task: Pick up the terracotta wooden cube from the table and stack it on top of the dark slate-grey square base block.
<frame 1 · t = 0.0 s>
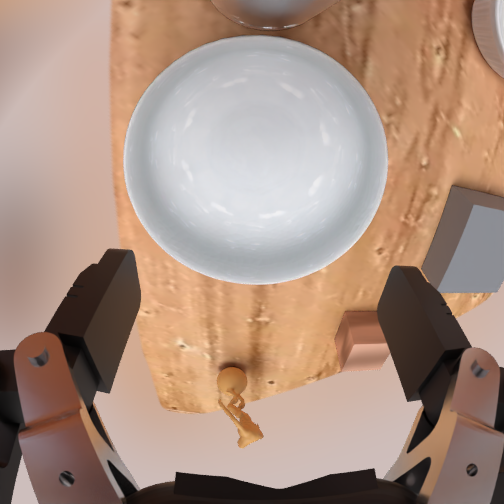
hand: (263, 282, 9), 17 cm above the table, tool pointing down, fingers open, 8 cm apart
cereal bowl: (254, 145, 24), on the table
ramekin: (501, 33, 16), on the table
figurine: (239, 366, 41), on the table
slate base: (470, 233, 28), on the table
terracotta cube: (358, 325, 36), on the table
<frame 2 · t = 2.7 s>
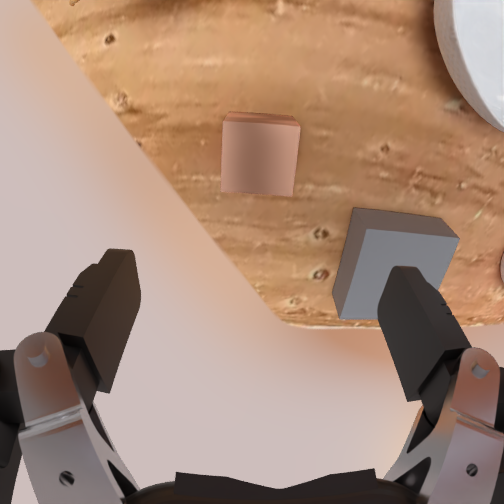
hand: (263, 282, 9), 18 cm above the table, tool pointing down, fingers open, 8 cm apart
cereal bowl: (482, 42, 18), on the table
slate base: (387, 256, 30), on the table
terracotta cube: (258, 142, 25), on the table
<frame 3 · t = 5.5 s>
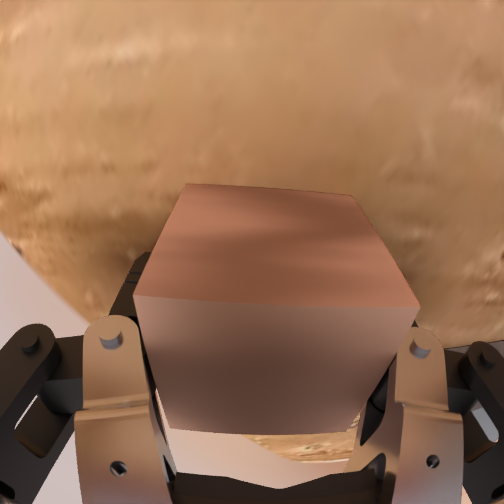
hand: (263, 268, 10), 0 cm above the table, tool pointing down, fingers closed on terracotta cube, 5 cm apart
slate base: (454, 392, 16), on the table
terracotta cube: (263, 259, 11), on the table, touching gripper
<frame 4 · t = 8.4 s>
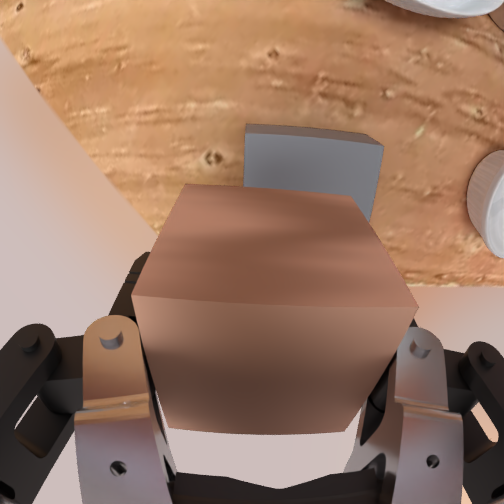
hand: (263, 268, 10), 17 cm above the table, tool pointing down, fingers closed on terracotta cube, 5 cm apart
ramekin: (493, 188, 26), on the table
slate base: (302, 184, 26), on the table
terracotta cube: (262, 259, 11), point 17 cm above the table, touching gripper
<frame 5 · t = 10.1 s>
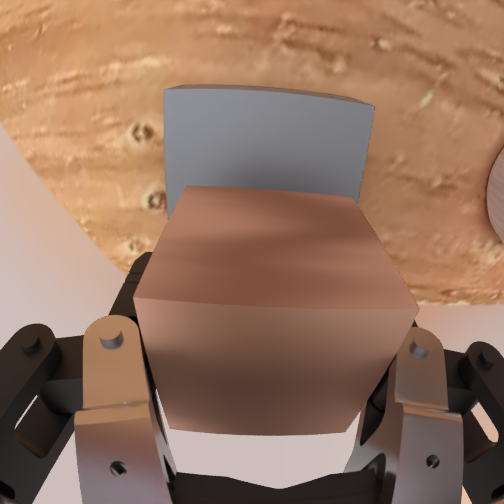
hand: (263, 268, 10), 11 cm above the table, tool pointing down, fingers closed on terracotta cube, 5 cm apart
slate base: (262, 166, 19), on the table
terracotta cube: (263, 260, 11), point 10 cm above the table, touching gripper
when the fingers open (6 cm above the table, at t = 11.4 s): terracotta cube drops 1 cm, resting on slate base.
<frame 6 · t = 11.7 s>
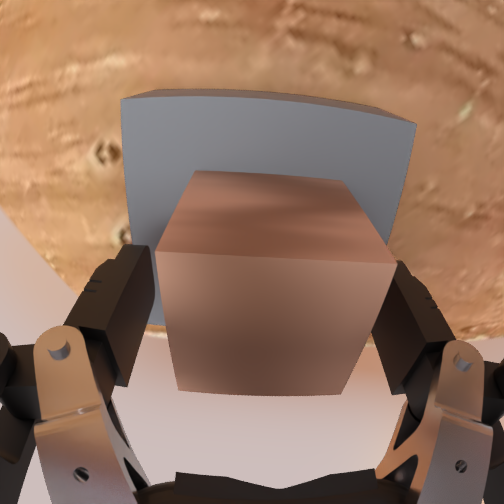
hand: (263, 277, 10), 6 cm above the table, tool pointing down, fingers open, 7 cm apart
slate base: (259, 196, 15), on the table
terracotta cube: (263, 238, 12), point 4 cm above the table, touching slate base
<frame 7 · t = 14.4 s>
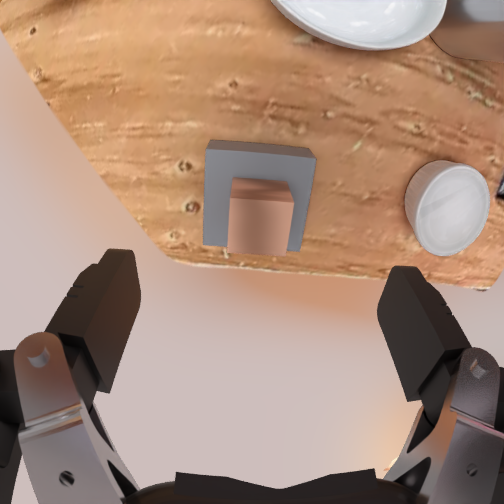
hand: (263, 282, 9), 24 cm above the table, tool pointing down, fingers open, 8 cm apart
ramekin: (433, 194, 34), on the table
slate base: (255, 188, 33), on the table
terracotta cube: (257, 203, 30), point 4 cm above the table, touching slate base
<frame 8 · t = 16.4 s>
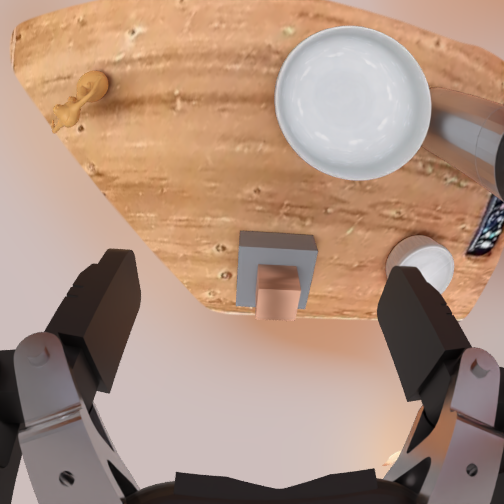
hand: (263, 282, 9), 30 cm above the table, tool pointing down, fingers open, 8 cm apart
cereal bowl: (341, 97, 33), on the table
ramekin: (410, 258, 46), on the table
figurine: (104, 90, 32), on the table
slate base: (273, 263, 46), on the table
terracotta cube: (275, 280, 42), point 4 cm above the table, touching slate base
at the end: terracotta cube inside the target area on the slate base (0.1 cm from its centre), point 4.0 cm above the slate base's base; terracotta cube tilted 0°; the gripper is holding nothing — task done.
